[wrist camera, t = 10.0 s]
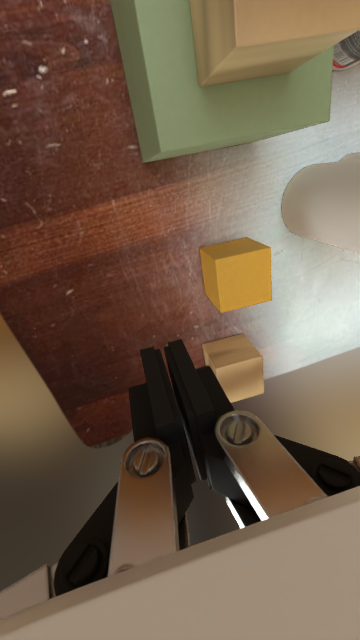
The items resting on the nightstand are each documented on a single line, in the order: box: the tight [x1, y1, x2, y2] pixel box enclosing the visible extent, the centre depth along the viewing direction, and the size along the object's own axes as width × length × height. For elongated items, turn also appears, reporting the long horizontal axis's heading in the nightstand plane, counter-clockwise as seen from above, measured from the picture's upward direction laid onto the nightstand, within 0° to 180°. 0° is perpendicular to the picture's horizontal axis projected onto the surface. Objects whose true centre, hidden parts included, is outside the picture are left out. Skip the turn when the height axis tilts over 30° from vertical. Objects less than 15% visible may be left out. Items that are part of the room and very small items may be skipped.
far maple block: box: [202, 334, 264, 403], centre depth 33 cm, size 5×5×5 cm
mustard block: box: [199, 237, 272, 313], centre depth 28 cm, size 5×5×5 cm
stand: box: [110, 0, 334, 163], centre depth 18 cm, size 10×10×10 cm
